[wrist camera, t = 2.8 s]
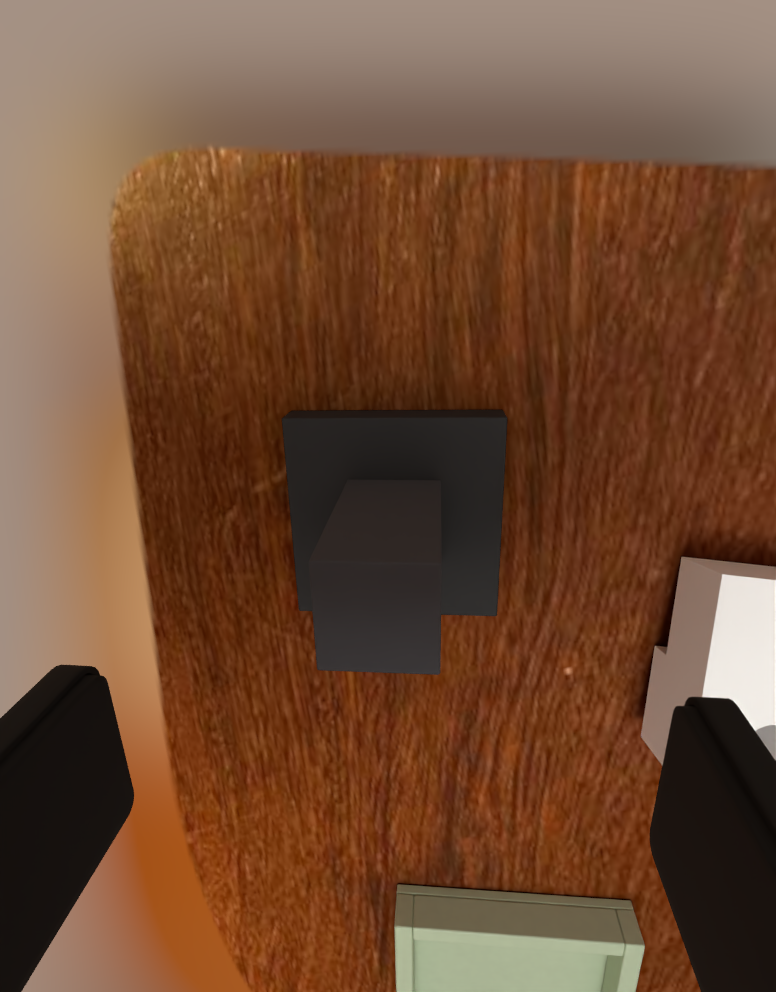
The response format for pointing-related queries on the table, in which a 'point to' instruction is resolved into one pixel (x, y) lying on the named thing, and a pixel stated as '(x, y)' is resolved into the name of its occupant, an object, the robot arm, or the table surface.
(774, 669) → the bracket
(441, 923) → the frame tray
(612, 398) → the table surface
